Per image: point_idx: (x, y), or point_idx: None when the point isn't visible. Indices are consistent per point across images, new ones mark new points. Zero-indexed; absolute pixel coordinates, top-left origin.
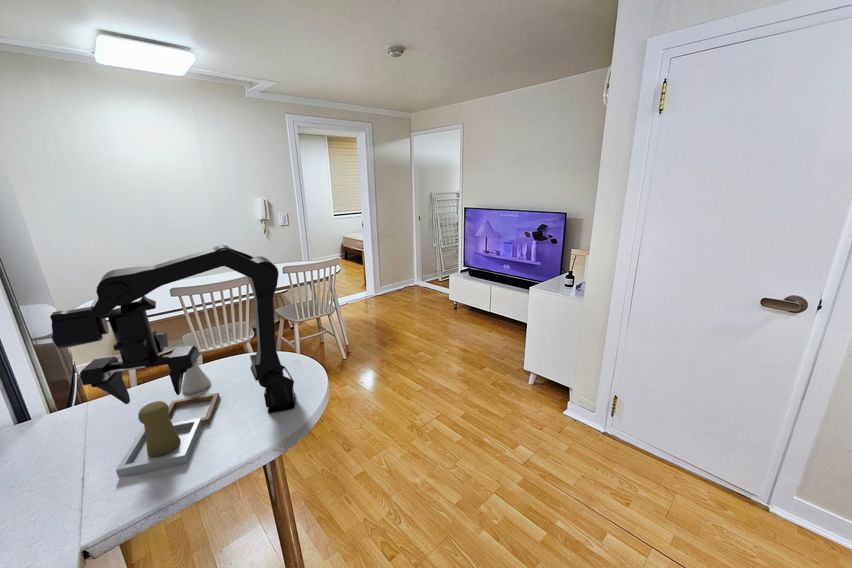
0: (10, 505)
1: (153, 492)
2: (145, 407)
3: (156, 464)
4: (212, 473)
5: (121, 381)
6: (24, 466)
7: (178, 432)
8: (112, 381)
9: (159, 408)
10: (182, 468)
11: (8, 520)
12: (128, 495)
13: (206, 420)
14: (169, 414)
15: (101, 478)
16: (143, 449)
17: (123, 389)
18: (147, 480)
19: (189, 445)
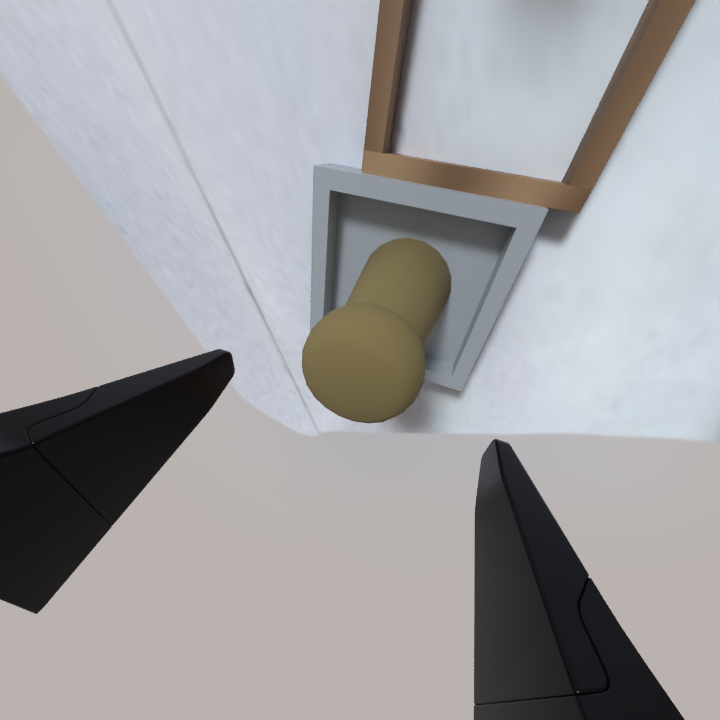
0: (165, 291)
1: None
2: (322, 383)
3: None
4: (512, 433)
5: (61, 460)
6: (79, 149)
7: (445, 223)
8: (31, 571)
9: (388, 415)
10: None
11: (190, 328)
12: None
13: (566, 210)
14: (403, 20)
15: (285, 309)
16: (347, 261)
17: (145, 427)
18: None
19: (476, 356)
